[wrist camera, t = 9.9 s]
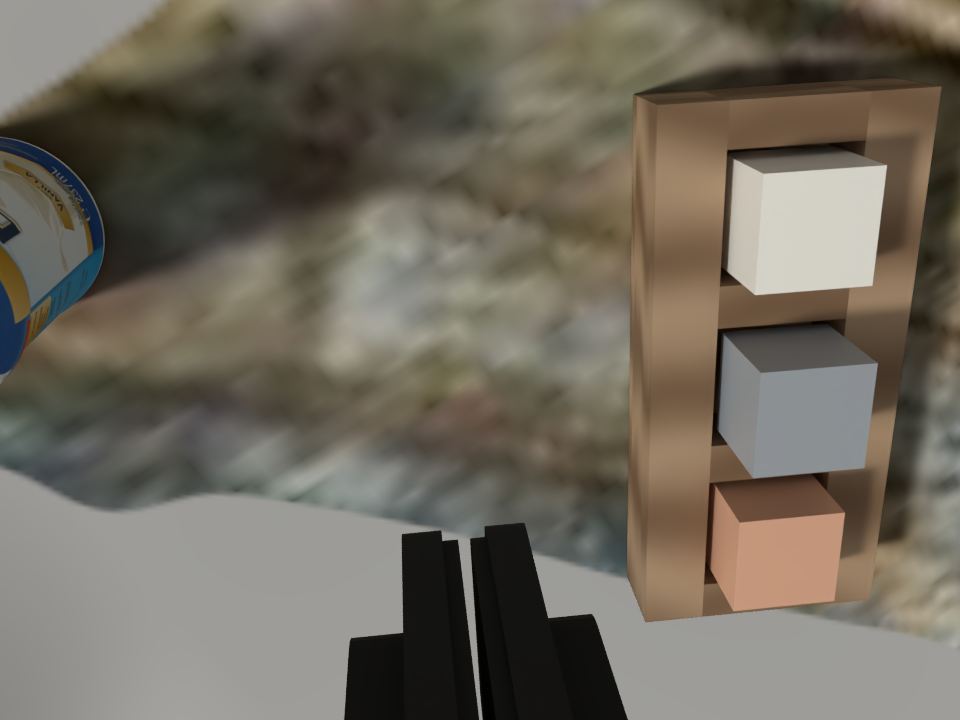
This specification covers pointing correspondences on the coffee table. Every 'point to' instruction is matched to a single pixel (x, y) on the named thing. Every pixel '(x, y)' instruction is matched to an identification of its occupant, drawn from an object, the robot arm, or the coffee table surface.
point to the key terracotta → (774, 541)
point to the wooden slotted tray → (752, 313)
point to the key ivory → (801, 219)
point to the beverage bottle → (41, 244)
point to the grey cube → (795, 400)
